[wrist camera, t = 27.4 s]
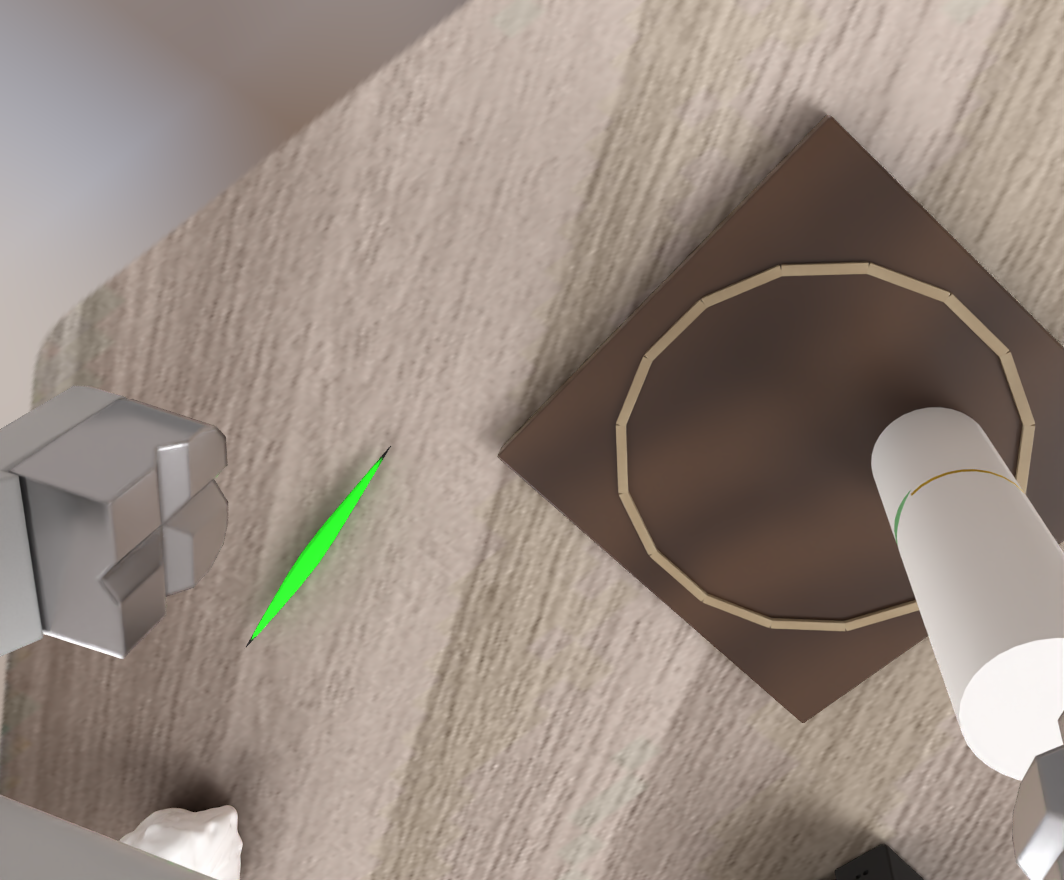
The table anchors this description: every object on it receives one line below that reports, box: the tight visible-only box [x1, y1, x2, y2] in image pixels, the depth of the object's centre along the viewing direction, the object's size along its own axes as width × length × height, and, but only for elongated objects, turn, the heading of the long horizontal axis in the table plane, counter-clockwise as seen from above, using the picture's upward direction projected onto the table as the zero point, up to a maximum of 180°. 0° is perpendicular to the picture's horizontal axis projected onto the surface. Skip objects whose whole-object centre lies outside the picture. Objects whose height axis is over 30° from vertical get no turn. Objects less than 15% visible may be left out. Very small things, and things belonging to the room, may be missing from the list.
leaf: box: [246, 446, 391, 647], centre depth 44 cm, size 1×14×1 cm, turn 145°
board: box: [498, 115, 1064, 723], centre depth 38 cm, size 18×18×1 cm
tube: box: [871, 407, 1064, 780], centre depth 30 cm, size 4×4×15 cm
